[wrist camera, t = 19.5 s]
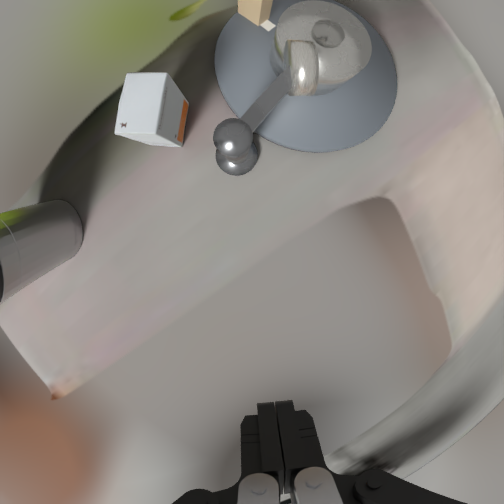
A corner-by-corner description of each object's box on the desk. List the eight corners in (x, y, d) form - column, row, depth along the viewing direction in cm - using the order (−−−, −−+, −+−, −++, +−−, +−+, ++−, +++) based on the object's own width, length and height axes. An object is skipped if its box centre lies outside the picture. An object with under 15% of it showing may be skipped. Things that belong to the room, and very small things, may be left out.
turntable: (315, 191, 35) (338, 197, 26) (176, 69, 30) (159, 42, 21) (418, 84, 31) (453, 70, 22) (298, -23, 26) (310, -56, 17)
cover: (316, 111, 30) (339, 93, 22) (252, 59, 28) (256, 28, 20) (361, 65, 29) (391, 42, 20) (303, 17, 27) (318, -17, 18)
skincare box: (183, 147, 33) (156, 136, 21) (151, 145, 33) (111, 135, 21) (191, 101, 31) (168, 70, 20) (158, 100, 31) (124, 72, 20)
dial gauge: (217, 177, 34) (194, 180, 17) (213, 99, 31) (188, 34, 14) (284, 173, 34) (328, 173, 17) (279, 95, 32) (314, 30, 14)
